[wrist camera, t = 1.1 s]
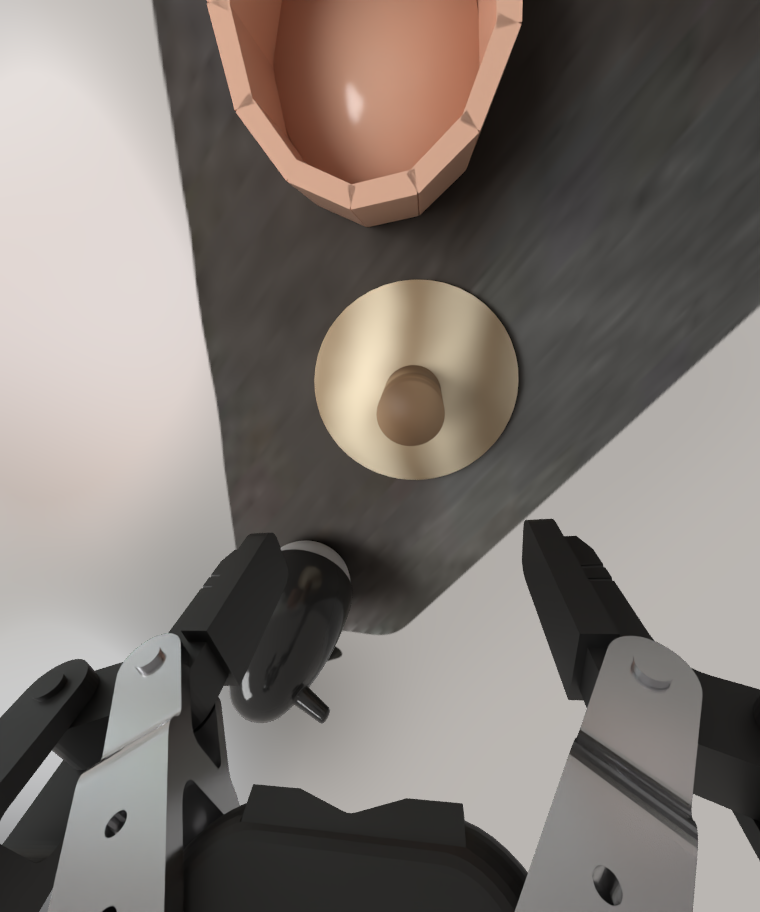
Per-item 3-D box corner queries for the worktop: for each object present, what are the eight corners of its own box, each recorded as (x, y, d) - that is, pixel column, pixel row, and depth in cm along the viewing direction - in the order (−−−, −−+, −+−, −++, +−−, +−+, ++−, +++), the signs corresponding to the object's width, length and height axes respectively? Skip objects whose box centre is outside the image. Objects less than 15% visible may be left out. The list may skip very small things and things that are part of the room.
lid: (518, 259, 22) (548, 250, 17) (513, 466, 29) (533, 507, 23) (295, 300, 25) (260, 304, 19) (340, 480, 32) (323, 518, 26)
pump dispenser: (353, 601, 39) (315, 766, 25) (269, 580, 39) (187, 733, 26) (369, 539, 34) (334, 701, 21) (273, 515, 34) (176, 661, 21)
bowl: (495, -160, 14) (531, -386, 10) (495, 199, 20) (518, 170, 15) (233, -53, 17) (155, -192, 12) (300, 242, 22) (266, 229, 18)
